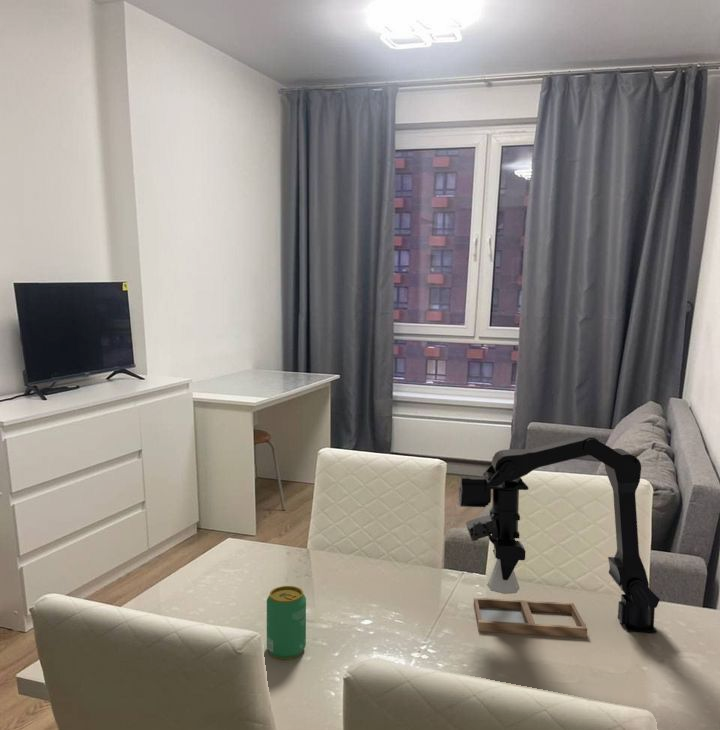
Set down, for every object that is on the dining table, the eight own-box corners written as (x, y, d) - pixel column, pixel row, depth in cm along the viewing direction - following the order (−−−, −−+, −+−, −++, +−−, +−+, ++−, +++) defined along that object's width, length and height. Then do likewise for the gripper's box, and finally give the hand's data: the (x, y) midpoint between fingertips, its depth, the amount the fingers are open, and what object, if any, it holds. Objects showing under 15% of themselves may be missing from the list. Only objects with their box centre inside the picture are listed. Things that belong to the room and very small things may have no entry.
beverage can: (282, 635, 128) (283, 581, 127) (313, 646, 124) (313, 590, 123) (258, 653, 121) (258, 596, 121) (290, 665, 117) (290, 606, 116)
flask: (520, 596, 131) (521, 552, 131) (487, 593, 133) (488, 549, 132) (518, 582, 139) (519, 540, 138) (486, 579, 140) (487, 538, 139)
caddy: (573, 611, 140) (573, 603, 140) (586, 637, 129) (587, 628, 129) (473, 605, 143) (473, 597, 143) (478, 630, 131) (478, 622, 131)
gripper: (465, 494, 144) (464, 556, 146) (472, 520, 126) (471, 591, 127) (512, 495, 143) (511, 558, 144) (526, 522, 125) (524, 594, 126)
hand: (503, 574), depth 136 cm, fingers closed on flask, 5 cm apart
